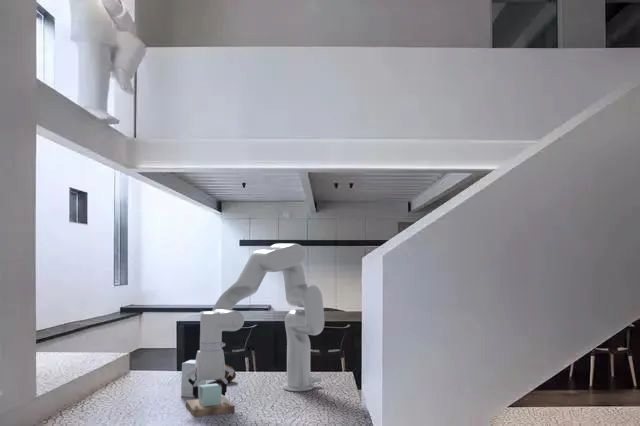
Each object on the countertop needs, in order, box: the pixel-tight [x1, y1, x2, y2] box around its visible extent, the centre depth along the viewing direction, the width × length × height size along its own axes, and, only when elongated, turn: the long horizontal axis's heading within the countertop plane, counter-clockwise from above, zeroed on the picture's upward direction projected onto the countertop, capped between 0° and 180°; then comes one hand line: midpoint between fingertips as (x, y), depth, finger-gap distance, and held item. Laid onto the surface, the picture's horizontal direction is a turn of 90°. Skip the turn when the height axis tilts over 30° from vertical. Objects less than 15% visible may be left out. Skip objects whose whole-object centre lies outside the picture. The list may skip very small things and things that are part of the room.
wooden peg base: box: [185, 395, 236, 418], centre depth 194 cm, size 14×14×6 cm
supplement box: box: [180, 359, 207, 398], centre depth 213 cm, size 7×7×13 cm
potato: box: [214, 364, 237, 383], centre depth 234 cm, size 8×12×8 cm, turn 91°
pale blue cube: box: [198, 382, 222, 406], centre depth 194 cm, size 6×6×6 cm
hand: (209, 396), depth 194 cm, fingers open, 9 cm apart
